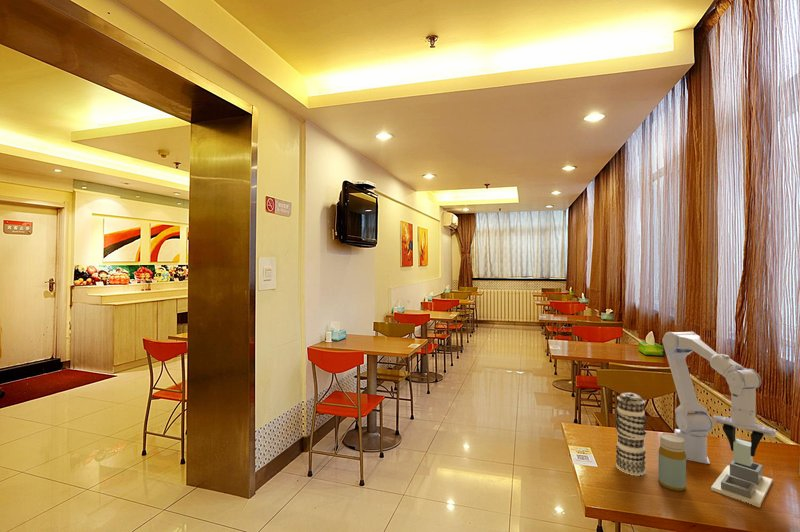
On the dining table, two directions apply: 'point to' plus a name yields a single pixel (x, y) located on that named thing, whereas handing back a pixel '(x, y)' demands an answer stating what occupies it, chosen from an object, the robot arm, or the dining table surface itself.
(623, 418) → the decorative candle
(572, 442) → the dining table surface
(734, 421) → the robot arm
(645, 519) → the dining table surface
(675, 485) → the bottle
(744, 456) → the plug
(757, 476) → the board with square sockets
